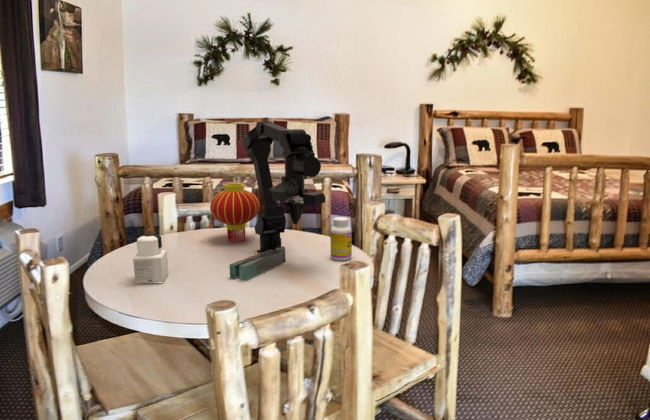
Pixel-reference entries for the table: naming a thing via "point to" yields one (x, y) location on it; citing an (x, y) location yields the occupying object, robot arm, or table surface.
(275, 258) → the bar
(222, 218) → the lantern
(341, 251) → the supplement bottle
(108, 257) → the table surface
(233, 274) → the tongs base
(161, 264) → the container
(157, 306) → the table surface
